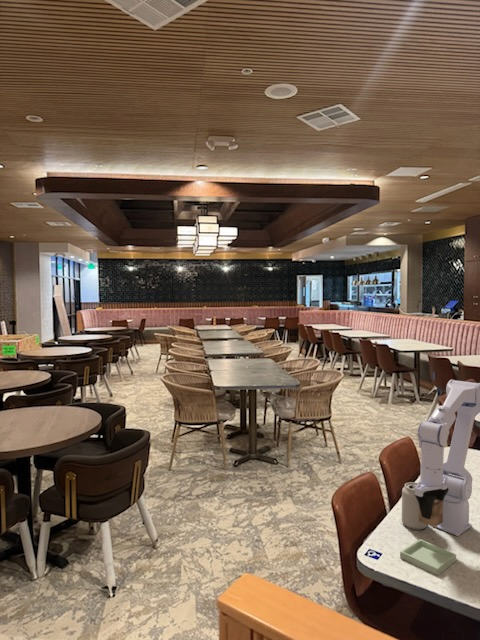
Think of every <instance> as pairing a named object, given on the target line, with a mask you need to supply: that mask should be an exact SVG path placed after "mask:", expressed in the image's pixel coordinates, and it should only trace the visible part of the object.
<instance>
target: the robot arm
mask: <svg viewBox="0 0 480 640" xmlns="http://www.w3.org/2000/svg"><path fill="white" fill-rule="evenodd" d="M445 393H446V398H445V400H444V402H443V404H442V405H438V406H437V407H435V409H434V410H433V412H432V413H431V415H430V417H429V418H428V419H427V421H426V420H425V421H423V422H420V423H419V425H418V428H417V432H416V433H417V434H416V435H417V436H416V437H417V439H418V447H419V448H420V477H419V478H420V479H419V481H418V482H417V483H418V484H417V486H416V487H415V488H414V495H415V497H416V498H417V501H418V503H419V506H420V511H421V515H422V517H424V518H426V519H430V518H431V514H432V507H433V503H434V501H435V499H439V500H442V501H443V522H442V523H441V524H439V525H438V526H436V527H435V528H436V529H439V530H442V531H444V532H446V533H449V534H452V535H454V536H456V537H457V536H458V537H459V536H460V535H462V534H463V533H464V532H467V530H468V529H470V528H472V526H473V525H472V523H470V522H469V521H470V520H469V519H470V503H469V500H470V498H471V497H472V491H473V477H472V475H471V473H470V472H469V471H468V469H467V468H466V467H465V464H466V460H467V455H468V450H469V446H470V441H471V436H472V432H473V427H474V423H475V418H476V415H478V414H480V382H470V381H464V380H455V379H450V380H449V381H448V382H447V384H446V388H445ZM456 413H457V415H456ZM454 422H455V424H454ZM453 424H454V429H453V433H452V436H451V441H450V446H449V449H448V455H447V458H446V461H445V462H444V453H445V450H444V449H445V448H444V447H445V445H446V444H447V442H448V440H449V435H450V428H451V427H452V425H453Z"/></svg>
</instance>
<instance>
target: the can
mask: <svg viewBox="0 0 480 640" xmlns="http://www.w3.org/2000/svg"><path fill="white" fill-rule="evenodd" d="M417 484H418V482H413V481H412V482H411V481H410V482H406V483H404V486H403V487H402V490H401V522H402V523H403V524H404V525H405V526H406V527H407V528H408V529H411V530H417V531H421V530H425V528H427V527H428V526H429V525H427V524H424V523H422V522H419V503H418V501H417V498H416V497H415V495H414V488H415V487H416V486H417Z"/></svg>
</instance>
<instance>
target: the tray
mask: <svg viewBox="0 0 480 640" xmlns="http://www.w3.org/2000/svg"><path fill="white" fill-rule="evenodd" d="M399 553H400V554H399V558H400V559H402V560H404V561H407V562H408V563H411V564H413V565H415V566H417V567H419V568H422V569H424V570H426V571H428V572H430V573H432V574H434V575H435V576H438V575H440V574H441V573H442V572H444V571H445V570H447V568H449V567H450V566H451V565H452V564H454V563H455V562H456V561H457V553H456V554H455V553H454V552H451V551H449V550H447V549H444V548H442V547H440V546H438V545H435V544H433V543H430V542H428V541H426V540H424V539H420V538H419V539H417V540H415V541H414V542H413V543H411V544H410V545H408V546H407V547H405V548H404V549H402V550H400V551H399Z"/></svg>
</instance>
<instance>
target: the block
mask: <svg viewBox="0 0 480 640" xmlns="http://www.w3.org/2000/svg"><path fill="white" fill-rule="evenodd" d="M419 522H422V523H424V524H427V525H428V526H430V527H432V528H436V526H438V525H439V524H441V523H442V522H443V501H442V500H439V499H435V501H434V503H433V507H432V514H431V518H430V519H426V518H424V517H422V515H421V511H420V506H419Z"/></svg>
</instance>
